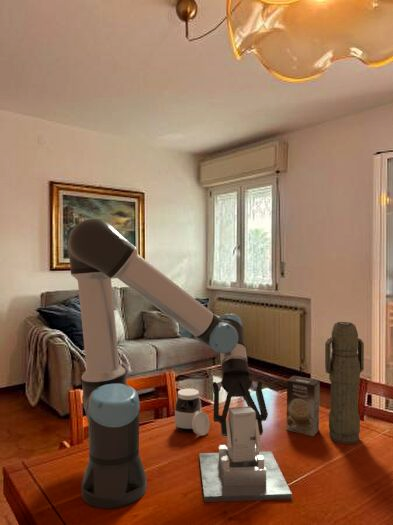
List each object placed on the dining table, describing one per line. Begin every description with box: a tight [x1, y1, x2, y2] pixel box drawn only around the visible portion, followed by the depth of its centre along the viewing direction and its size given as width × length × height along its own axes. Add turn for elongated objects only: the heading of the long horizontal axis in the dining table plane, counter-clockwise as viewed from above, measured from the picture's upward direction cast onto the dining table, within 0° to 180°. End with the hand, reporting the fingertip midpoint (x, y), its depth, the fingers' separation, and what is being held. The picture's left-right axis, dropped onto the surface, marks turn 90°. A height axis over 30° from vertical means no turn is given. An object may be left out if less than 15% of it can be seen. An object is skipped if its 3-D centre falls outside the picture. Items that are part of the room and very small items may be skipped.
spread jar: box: [174, 388, 211, 437], centre depth 129 cm, size 12×11×12 cm
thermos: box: [324, 321, 365, 445], centre depth 123 cm, size 9×12×35 cm
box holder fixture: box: [198, 443, 293, 503], centre depth 101 cm, size 20×20×6 cm
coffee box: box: [285, 375, 321, 437], centre depth 128 cm, size 9×6×16 cm
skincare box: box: [227, 405, 256, 462], centre depth 101 cm, size 6×4×12 cm
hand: (244, 448), depth 98 cm, fingers closed on skincare box, 6 cm apart
